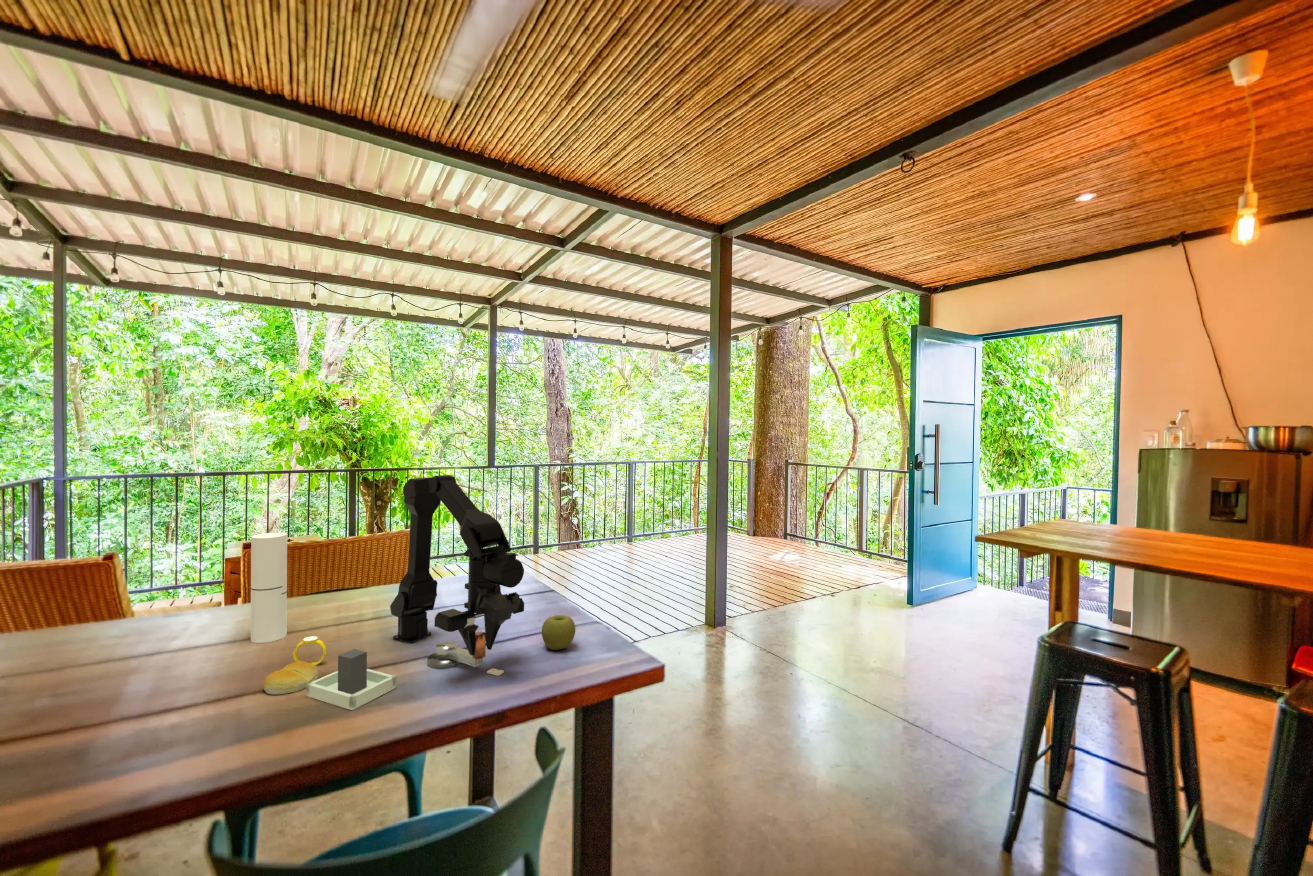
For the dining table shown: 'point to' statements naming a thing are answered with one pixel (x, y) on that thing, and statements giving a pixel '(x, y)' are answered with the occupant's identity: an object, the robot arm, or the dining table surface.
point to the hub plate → (441, 662)
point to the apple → (558, 632)
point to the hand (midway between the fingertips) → (480, 652)
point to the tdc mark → (495, 671)
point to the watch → (308, 641)
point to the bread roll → (290, 678)
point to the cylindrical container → (268, 587)
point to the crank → (463, 651)
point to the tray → (329, 693)
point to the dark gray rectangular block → (352, 671)
